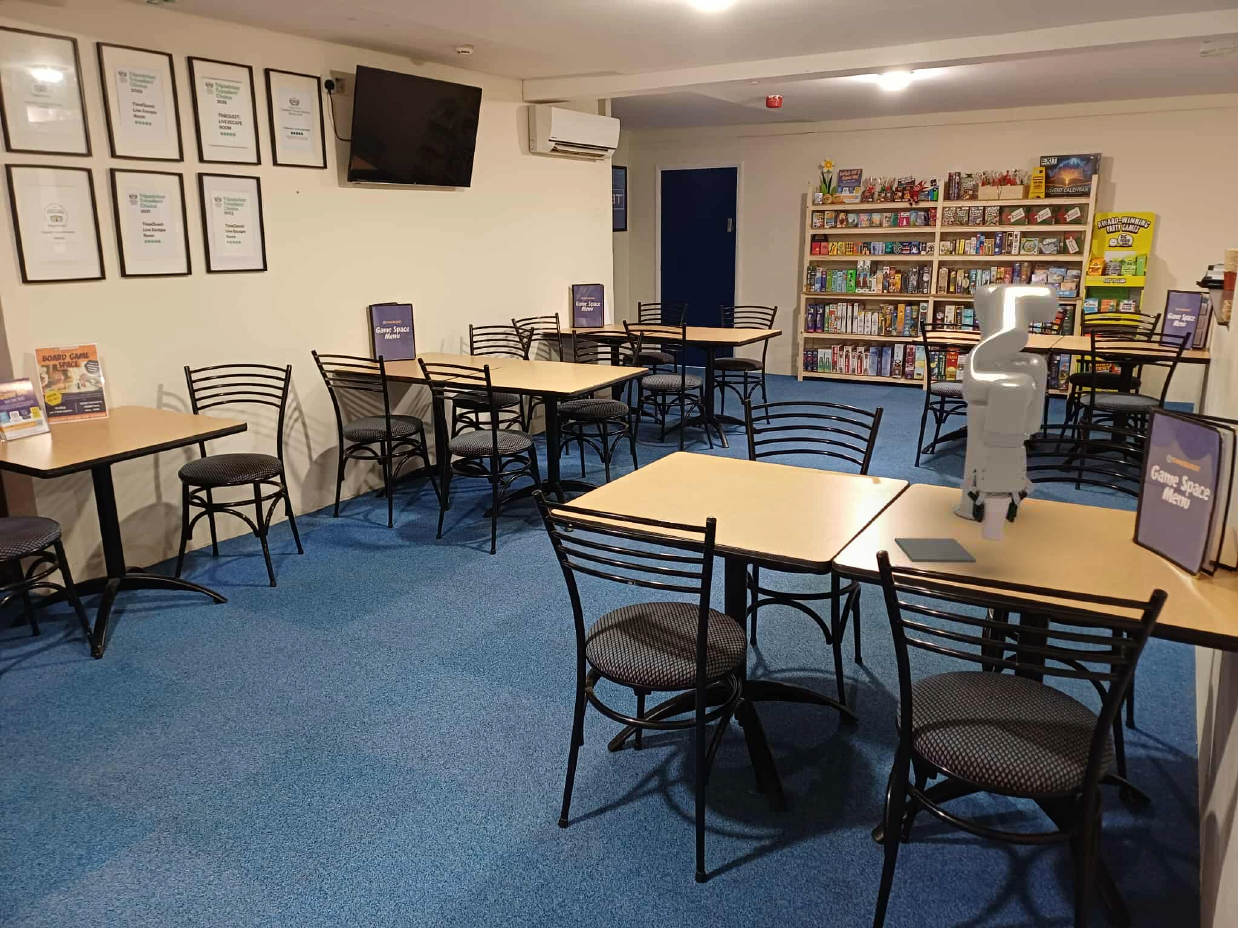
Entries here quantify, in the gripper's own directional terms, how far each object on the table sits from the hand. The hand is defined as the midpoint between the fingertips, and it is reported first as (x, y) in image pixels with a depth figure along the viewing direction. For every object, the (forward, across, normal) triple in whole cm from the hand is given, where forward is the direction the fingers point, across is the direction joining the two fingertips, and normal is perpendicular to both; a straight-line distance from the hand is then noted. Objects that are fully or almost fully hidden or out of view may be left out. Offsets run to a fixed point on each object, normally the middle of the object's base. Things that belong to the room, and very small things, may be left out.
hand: (993, 519), depth 184 cm
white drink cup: (+4, 0, 0) cm, 4 cm away
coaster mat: (+12, +7, -13) cm, 19 cm away
